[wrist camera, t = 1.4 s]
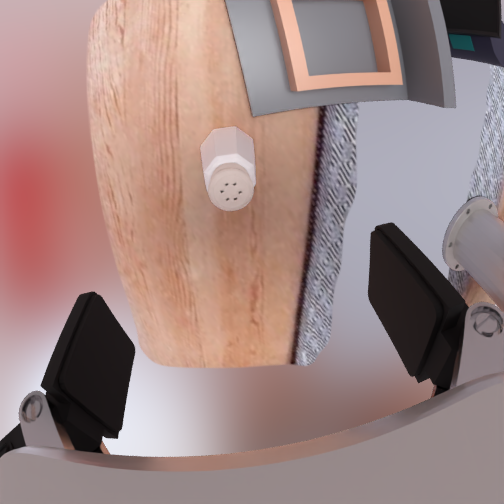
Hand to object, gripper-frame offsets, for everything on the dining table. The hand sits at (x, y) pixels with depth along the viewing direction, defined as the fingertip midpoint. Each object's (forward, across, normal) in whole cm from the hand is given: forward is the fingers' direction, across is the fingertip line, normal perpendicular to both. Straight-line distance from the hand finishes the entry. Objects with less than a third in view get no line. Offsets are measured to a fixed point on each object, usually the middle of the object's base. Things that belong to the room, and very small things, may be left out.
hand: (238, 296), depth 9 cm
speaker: (+20, -28, -12) cm, 37 cm away
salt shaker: (+21, 0, 0) cm, 21 cm away
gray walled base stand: (+20, -12, -10) cm, 26 cm away
